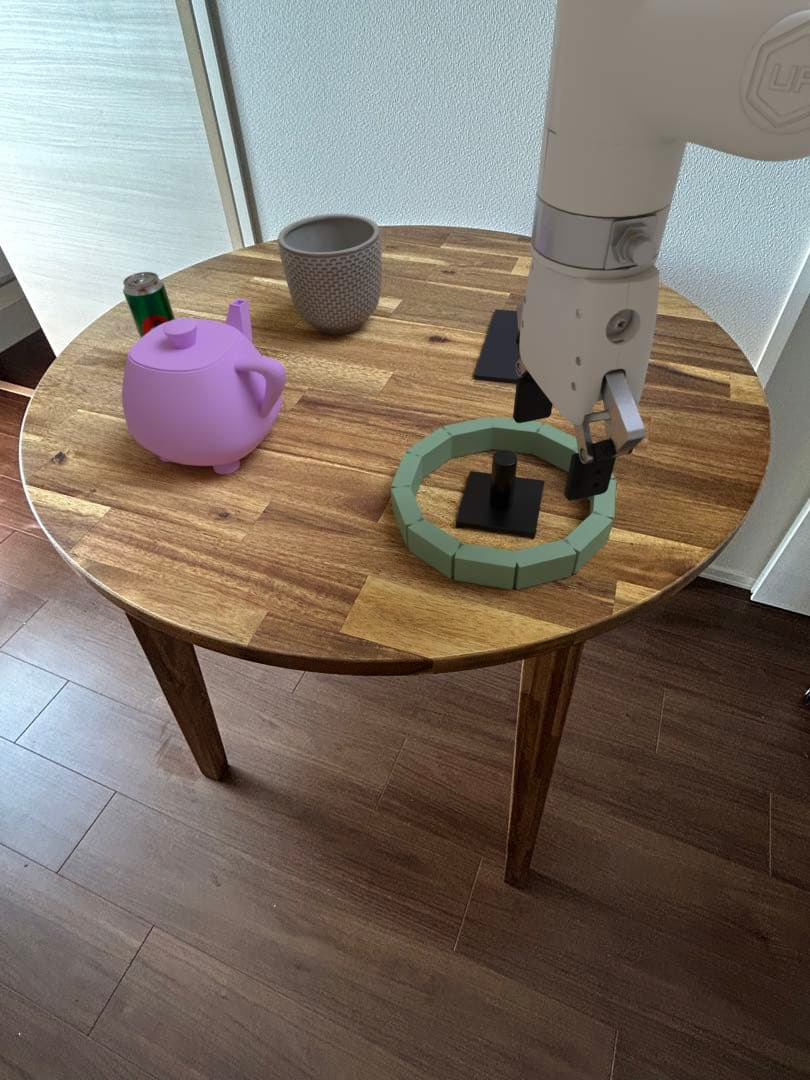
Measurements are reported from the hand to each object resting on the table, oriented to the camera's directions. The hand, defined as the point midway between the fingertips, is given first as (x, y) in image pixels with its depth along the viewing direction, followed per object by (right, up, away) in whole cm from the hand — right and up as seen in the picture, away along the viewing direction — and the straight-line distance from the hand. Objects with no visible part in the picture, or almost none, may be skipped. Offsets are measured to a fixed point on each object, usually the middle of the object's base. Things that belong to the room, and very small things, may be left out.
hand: (556, 454), depth 50 cm
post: (-2, -3, +17) cm, 17 cm away
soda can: (-45, +18, +40) cm, 62 cm away
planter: (-21, +25, +45) cm, 56 cm away
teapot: (-32, +6, +28) cm, 43 cm away
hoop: (-2, -3, +17) cm, 17 cm away
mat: (+8, +19, +38) cm, 43 cm away
